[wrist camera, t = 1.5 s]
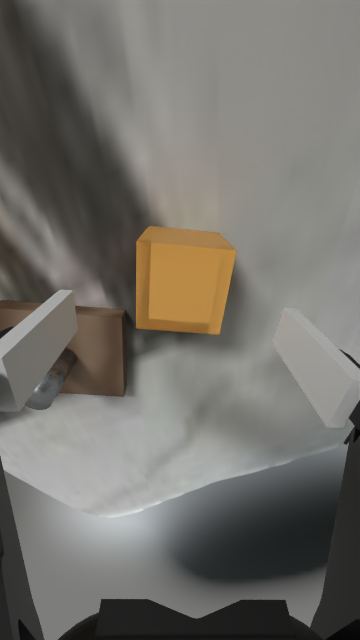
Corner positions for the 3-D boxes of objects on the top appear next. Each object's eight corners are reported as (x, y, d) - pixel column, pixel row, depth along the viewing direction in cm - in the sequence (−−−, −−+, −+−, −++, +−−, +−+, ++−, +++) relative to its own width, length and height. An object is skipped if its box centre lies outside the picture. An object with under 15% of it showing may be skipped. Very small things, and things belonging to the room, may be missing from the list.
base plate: (125, 310, 28) (121, 318, 26) (126, 385, 33) (123, 396, 32) (1, 300, 27) (-11, 307, 25) (24, 379, 33) (16, 389, 31)
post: (75, 347, 28) (48, 388, 22) (78, 367, 29) (54, 410, 24) (49, 346, 28) (15, 386, 22) (53, 366, 29) (23, 408, 23)
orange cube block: (219, 232, 24) (236, 250, 17) (208, 297, 27) (219, 334, 20) (149, 225, 23) (136, 241, 16) (147, 292, 27) (136, 328, 20)
